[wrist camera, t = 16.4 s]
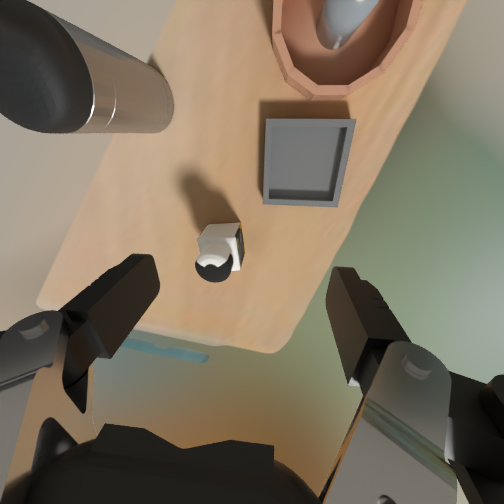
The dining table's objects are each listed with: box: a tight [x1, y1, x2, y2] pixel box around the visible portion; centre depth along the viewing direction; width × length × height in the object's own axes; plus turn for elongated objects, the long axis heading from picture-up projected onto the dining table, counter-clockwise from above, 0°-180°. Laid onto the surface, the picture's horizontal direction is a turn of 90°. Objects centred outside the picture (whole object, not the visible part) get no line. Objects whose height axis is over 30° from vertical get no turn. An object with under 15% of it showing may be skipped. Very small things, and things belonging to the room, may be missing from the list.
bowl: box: [272, 0, 423, 100], centre depth 26 cm, size 16×16×5 cm
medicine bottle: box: [195, 223, 245, 282], centre depth 40 cm, size 7×7×12 cm
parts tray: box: [263, 119, 356, 207], centre depth 35 cm, size 13×13×2 cm
